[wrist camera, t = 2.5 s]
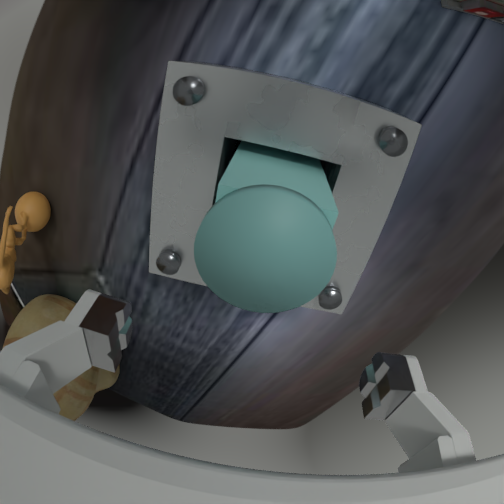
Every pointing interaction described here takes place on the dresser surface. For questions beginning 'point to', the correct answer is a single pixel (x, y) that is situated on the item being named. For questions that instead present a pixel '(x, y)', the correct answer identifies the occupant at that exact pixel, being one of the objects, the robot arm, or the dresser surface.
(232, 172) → the cover plug
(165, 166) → the housing
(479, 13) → the cassette tape recorder
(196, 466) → the robot arm
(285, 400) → the dresser surface
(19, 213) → the figurine
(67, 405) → the ceramic vessel
